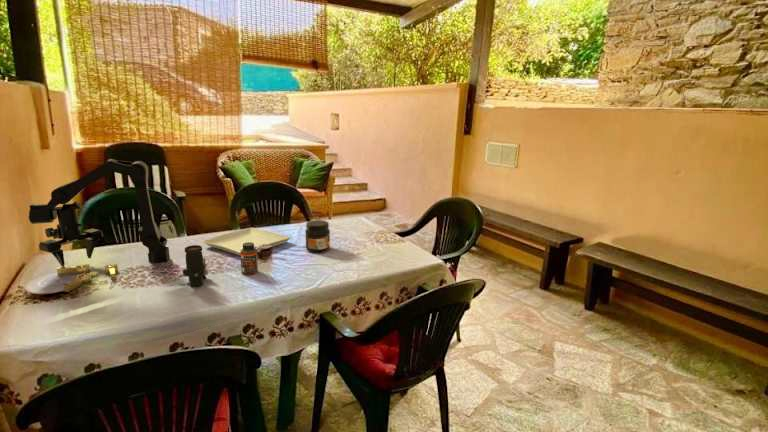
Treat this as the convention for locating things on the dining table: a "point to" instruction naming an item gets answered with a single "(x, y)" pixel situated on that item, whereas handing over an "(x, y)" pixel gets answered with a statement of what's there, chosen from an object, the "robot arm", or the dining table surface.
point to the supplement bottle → (249, 259)
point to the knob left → (77, 281)
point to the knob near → (111, 270)
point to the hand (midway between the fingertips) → (76, 262)
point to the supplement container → (317, 236)
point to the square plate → (246, 239)
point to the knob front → (74, 269)
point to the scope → (195, 266)
